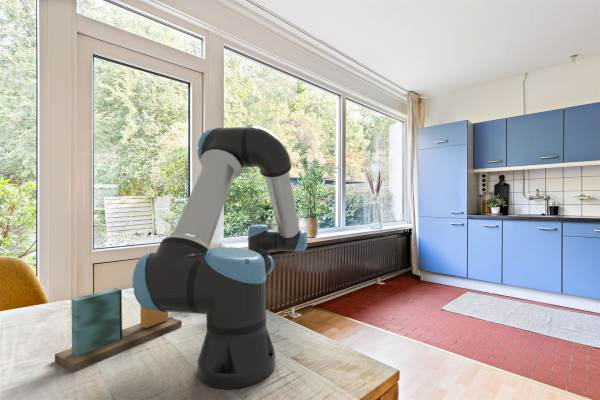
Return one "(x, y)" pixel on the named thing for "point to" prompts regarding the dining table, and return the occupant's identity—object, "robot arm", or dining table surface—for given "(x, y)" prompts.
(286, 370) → the dining table surface
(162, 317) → the stub
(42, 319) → the dining table surface
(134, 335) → the ticket stand
